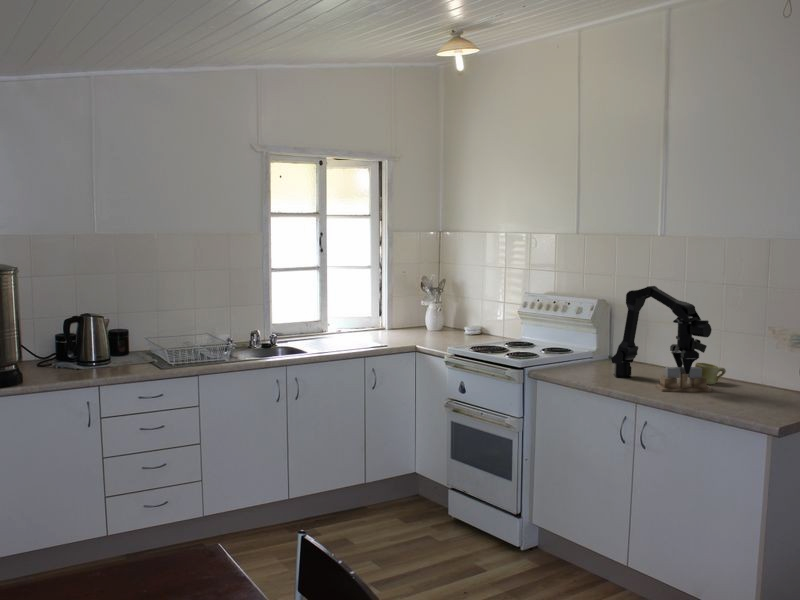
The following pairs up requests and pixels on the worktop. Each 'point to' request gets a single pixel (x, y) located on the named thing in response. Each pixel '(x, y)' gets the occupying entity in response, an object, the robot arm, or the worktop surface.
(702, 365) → the mug
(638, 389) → the worktop surface
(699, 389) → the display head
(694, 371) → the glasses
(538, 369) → the worktop surface
